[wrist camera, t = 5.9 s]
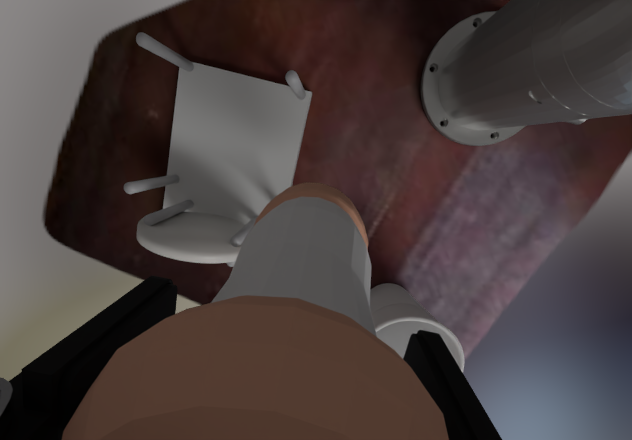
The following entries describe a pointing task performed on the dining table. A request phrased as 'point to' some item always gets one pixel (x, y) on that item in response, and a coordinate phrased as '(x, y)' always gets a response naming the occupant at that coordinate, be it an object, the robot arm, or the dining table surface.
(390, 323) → the cup
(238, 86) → the dish rack
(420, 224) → the dining table surface
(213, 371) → the salt shaker
